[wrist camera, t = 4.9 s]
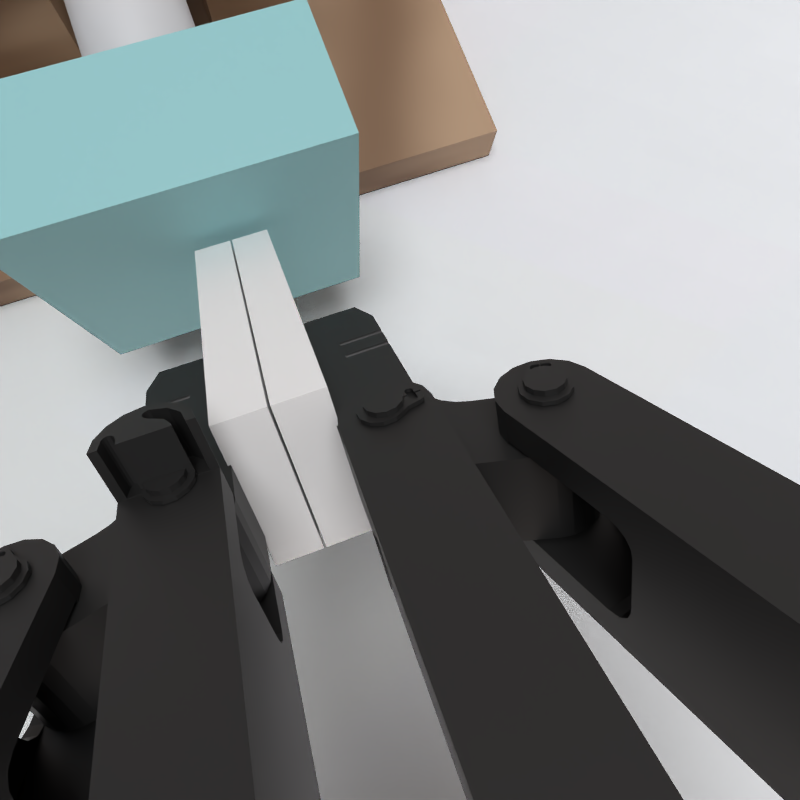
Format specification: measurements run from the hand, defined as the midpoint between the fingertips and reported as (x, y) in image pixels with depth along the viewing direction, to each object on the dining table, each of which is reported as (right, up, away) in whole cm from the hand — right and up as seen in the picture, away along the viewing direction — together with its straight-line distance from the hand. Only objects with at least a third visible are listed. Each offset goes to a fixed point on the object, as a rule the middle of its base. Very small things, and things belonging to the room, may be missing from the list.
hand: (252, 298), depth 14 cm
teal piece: (-3, +6, +5) cm, 9 cm away
